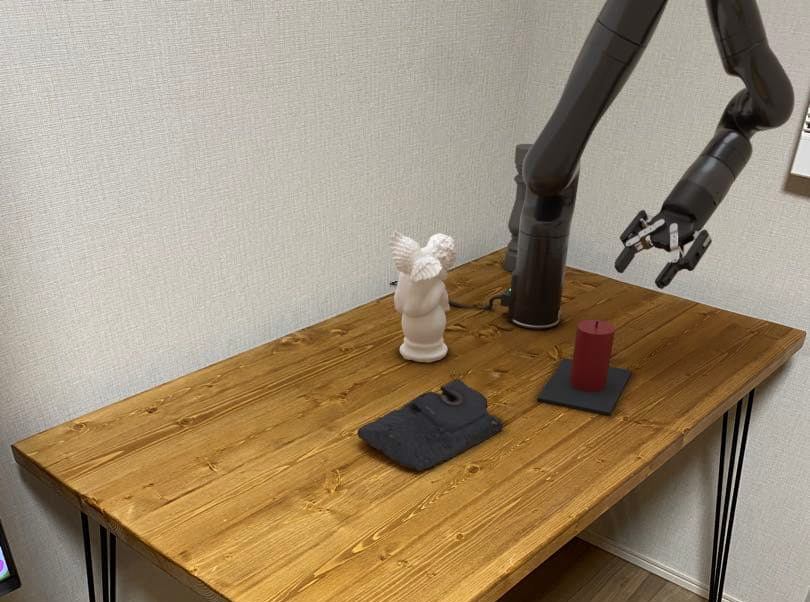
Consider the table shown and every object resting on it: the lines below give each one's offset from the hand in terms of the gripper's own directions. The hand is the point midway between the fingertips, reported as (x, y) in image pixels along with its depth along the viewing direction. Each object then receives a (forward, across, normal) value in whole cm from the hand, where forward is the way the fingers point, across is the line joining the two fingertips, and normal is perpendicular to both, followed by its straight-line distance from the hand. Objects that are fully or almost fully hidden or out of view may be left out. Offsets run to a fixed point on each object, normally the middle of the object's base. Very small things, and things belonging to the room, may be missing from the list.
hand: (637, 277), depth 143 cm
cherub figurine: (+29, -24, -5) cm, 38 cm away
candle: (+18, 0, +6) cm, 18 cm away
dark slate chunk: (+40, -2, -16) cm, 44 cm away
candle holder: (-4, -50, +28) cm, 58 cm away
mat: (+18, 0, +6) cm, 19 cm away
